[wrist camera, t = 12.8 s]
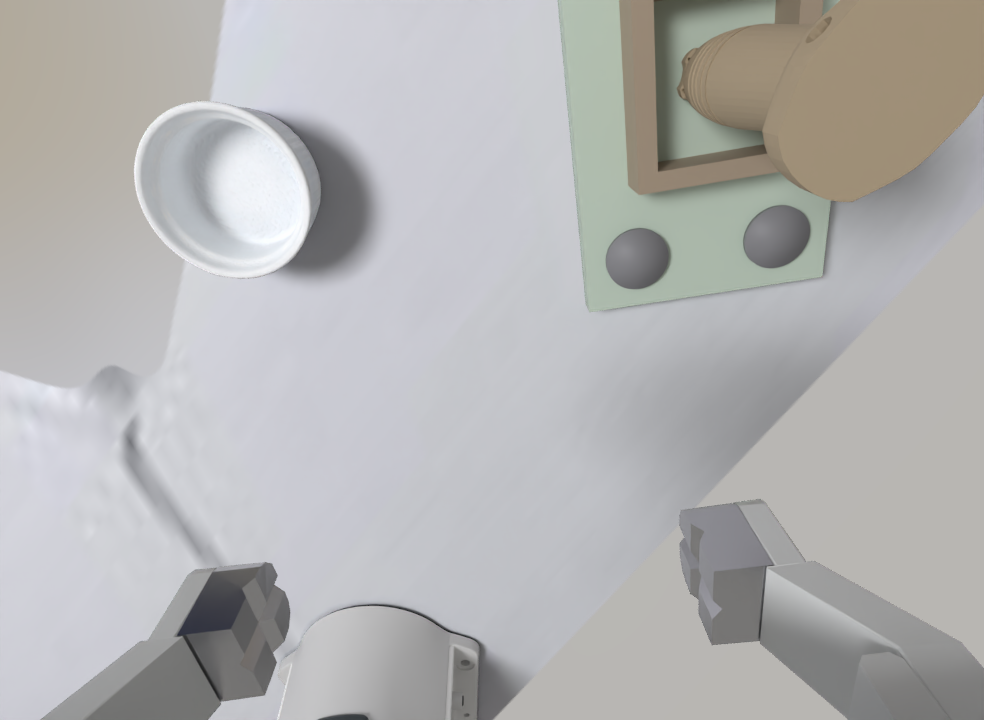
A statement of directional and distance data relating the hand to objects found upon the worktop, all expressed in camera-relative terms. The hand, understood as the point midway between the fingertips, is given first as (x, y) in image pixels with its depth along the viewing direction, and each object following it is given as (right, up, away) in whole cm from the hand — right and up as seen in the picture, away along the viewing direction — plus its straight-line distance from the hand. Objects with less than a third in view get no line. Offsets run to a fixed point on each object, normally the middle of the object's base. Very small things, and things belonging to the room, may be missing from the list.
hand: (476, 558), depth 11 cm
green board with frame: (+12, +17, +20) cm, 29 cm away
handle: (+11, +19, +18) cm, 28 cm away
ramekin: (-13, +14, +22) cm, 29 cm away
